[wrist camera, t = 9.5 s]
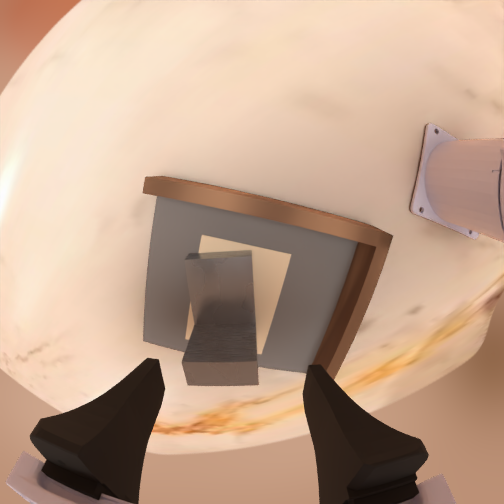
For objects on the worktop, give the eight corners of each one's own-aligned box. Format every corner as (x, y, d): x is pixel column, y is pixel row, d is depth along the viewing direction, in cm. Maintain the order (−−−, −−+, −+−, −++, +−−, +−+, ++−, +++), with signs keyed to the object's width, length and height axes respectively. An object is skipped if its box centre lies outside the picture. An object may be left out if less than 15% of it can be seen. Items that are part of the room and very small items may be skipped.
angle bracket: (256, 334, 21) (258, 384, 15) (201, 335, 21) (187, 385, 15) (251, 250, 19) (252, 282, 13) (189, 253, 19) (165, 286, 14)
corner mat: (372, 225, 19) (375, 226, 19) (317, 371, 23) (318, 374, 23) (162, 176, 18) (160, 176, 18) (144, 338, 22) (142, 341, 21)
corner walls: (372, 225, 19) (393, 235, 16) (317, 371, 23) (324, 396, 20) (162, 176, 18) (145, 176, 15) (144, 338, 22) (131, 361, 19)
